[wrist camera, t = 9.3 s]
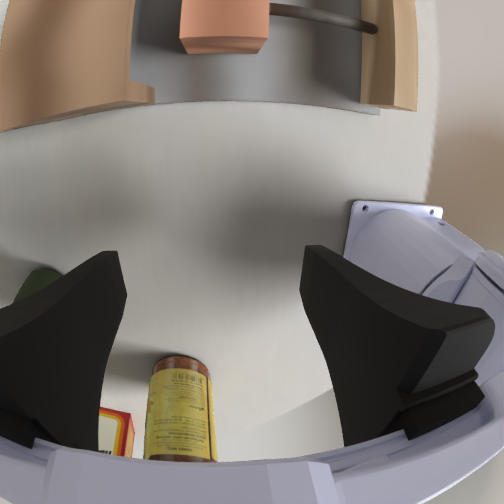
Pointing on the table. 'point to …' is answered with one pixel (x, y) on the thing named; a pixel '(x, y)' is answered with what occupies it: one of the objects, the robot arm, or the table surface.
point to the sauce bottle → (180, 413)
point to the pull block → (371, 24)
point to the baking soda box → (115, 433)
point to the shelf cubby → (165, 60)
